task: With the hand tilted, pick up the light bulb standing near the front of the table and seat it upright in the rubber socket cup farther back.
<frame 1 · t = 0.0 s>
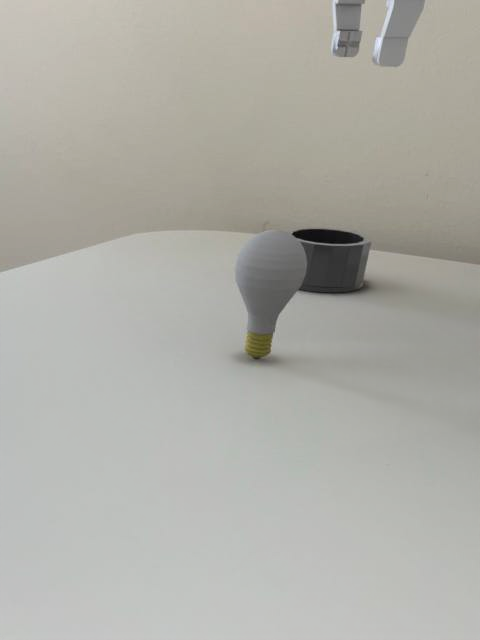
hand: (363, 61, 74), 21 cm above the table, tool pointing down, fingers open, 8 cm apart
light bulb: (255, 360, 82), on the table
socket: (319, 281, 103), on the table
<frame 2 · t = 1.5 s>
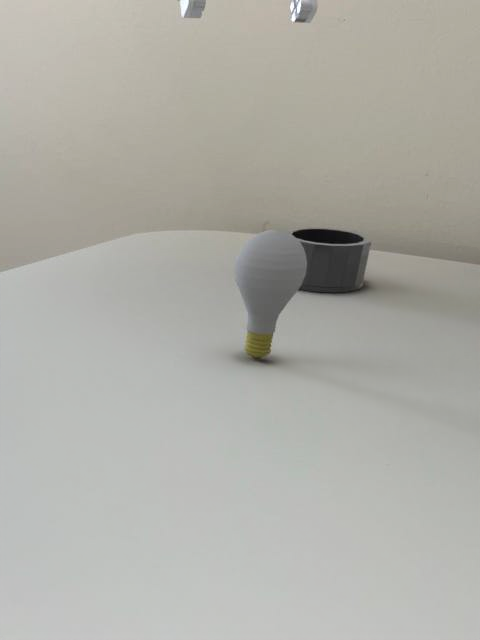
hand: (250, 14, 80), 24 cm above the table, tool tilted 45°, fingers open, 8 cm apart
nothing on the table moved.
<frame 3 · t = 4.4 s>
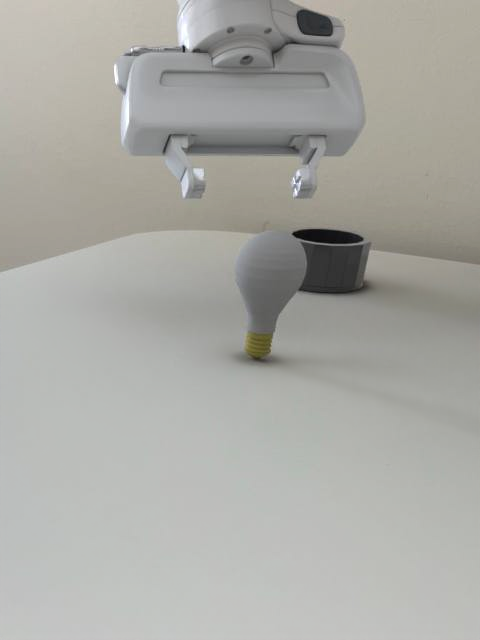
hand: (250, 194, 82), 11 cm above the table, tool tilted 45°, fingers open, 8 cm apart
nothing on the table moved.
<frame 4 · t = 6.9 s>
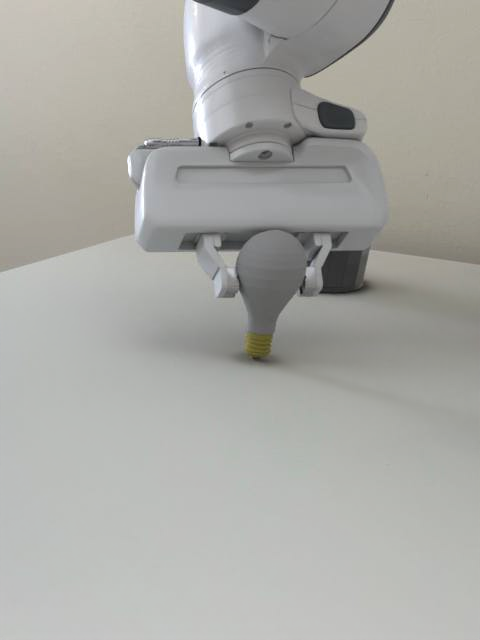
hand: (269, 293, 79), 5 cm above the table, tool tilted 45°, fingers closed on light bulb, 5 cm apart
light bulb: (255, 360, 82), on the table, touching gripper
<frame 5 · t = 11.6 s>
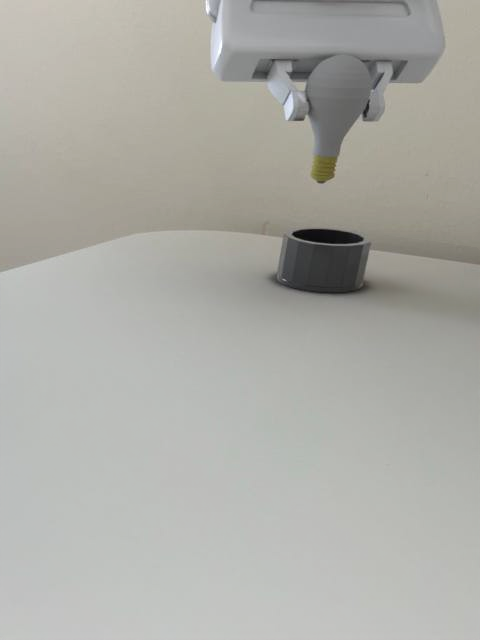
hand: (336, 116, 86), 16 cm above the table, tool tilted 45°, fingers closed on light bulb, 5 cm apart
light bulb: (320, 185, 89), point 11 cm above the table, touching gripper
when the fingers open (6 cm above the table, at t = 16.4 s): light bulb stays where it is, resting on socket.
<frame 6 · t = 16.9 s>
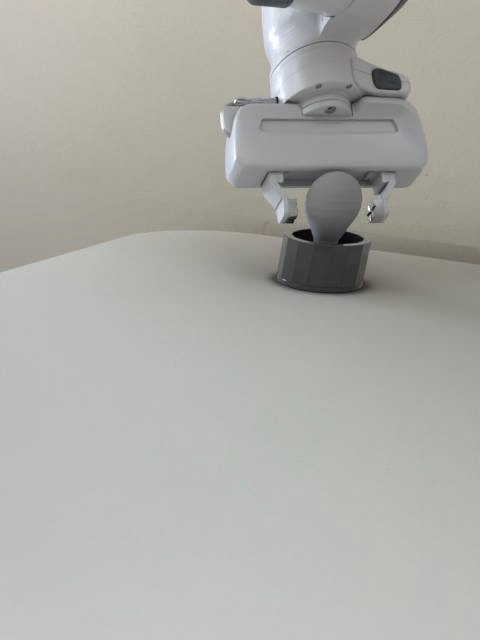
hand: (333, 220, 99), 6 cm above the table, tool tilted 45°, fingers open, 8 cm apart
light bulb: (318, 278, 103), resting on socket
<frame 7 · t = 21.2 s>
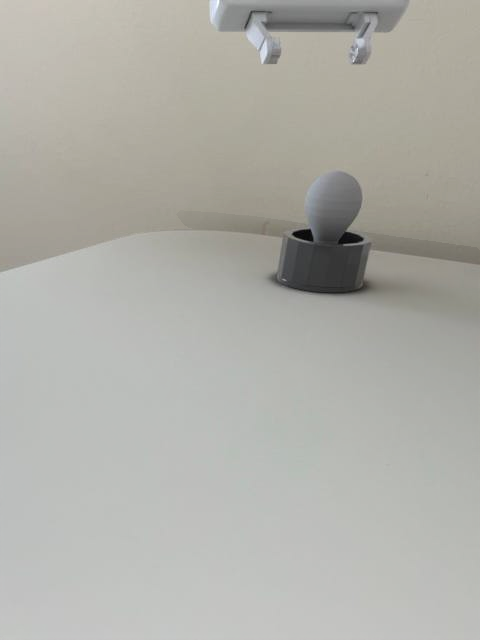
hand: (316, 60, 101), 19 cm above the table, tool tilted 45°, fingers open, 8 cm apart
nothing on the table moved.
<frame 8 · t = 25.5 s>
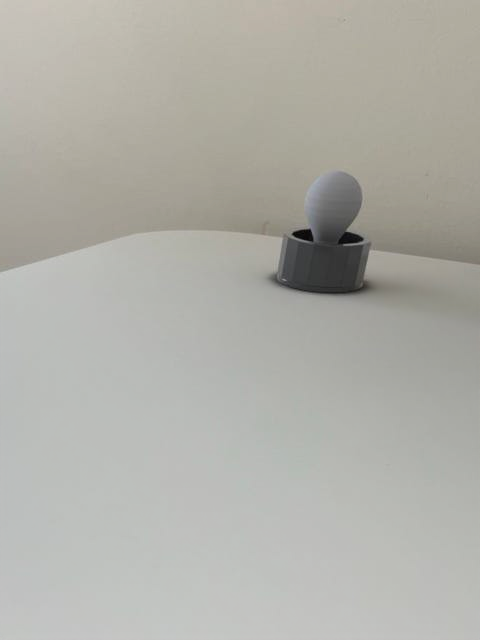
nothing on the table moved.
at the end: light bulb 0.1 cm off-centre in the socket, point 0.3 cm above the socket's base; light bulb tilted 0°; the gripper is holding nothing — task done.
